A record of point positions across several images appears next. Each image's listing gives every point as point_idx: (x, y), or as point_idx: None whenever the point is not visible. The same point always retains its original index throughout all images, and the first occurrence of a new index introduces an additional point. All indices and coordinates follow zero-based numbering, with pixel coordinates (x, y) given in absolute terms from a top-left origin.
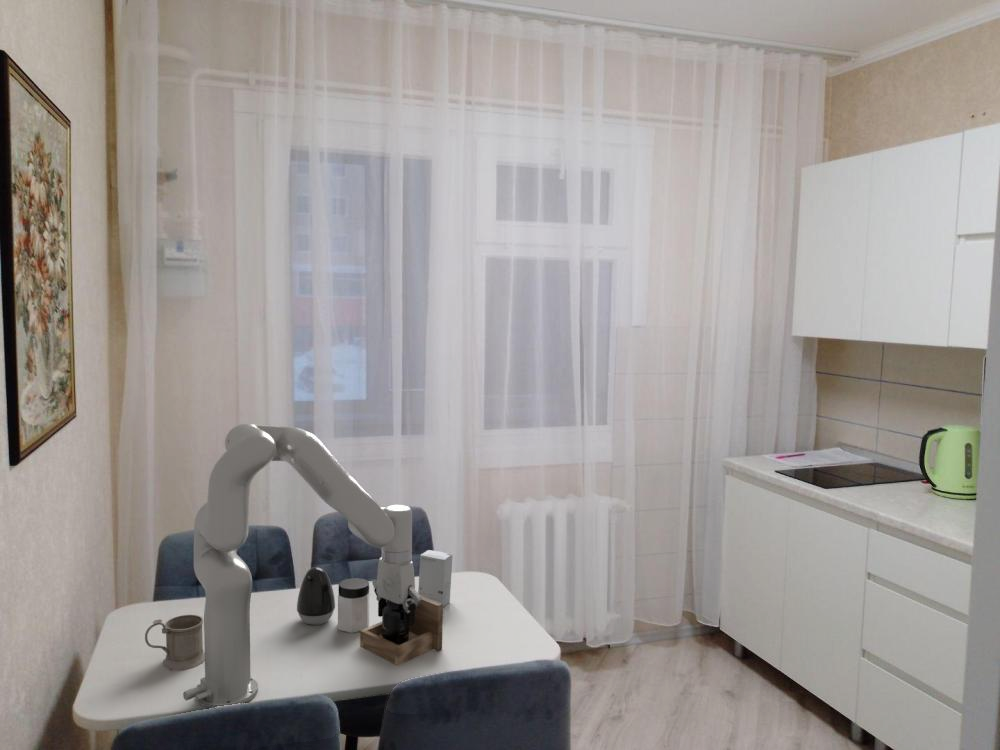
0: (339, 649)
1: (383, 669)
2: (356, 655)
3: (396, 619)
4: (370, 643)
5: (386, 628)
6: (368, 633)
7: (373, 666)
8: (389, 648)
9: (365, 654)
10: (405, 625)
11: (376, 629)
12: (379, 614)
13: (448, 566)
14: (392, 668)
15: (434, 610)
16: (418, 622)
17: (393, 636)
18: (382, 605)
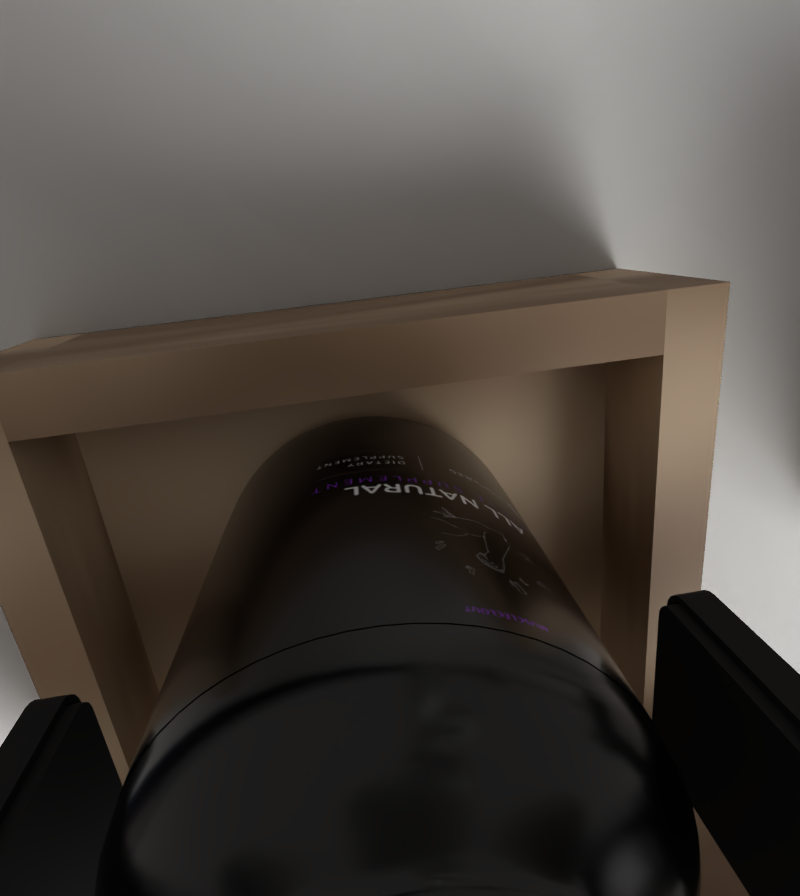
0: (741, 64)
1: (46, 169)
2: (506, 129)
3: (153, 721)
4: (486, 297)
5: (336, 497)
6: (580, 320)
7: (173, 122)
8: (125, 347)
9: (459, 221)
10: (17, 735)
11: (635, 489)
12: (695, 614)
13: None
14: (16, 261)
15: None
16: None
17: (247, 508)
18: (787, 793)
